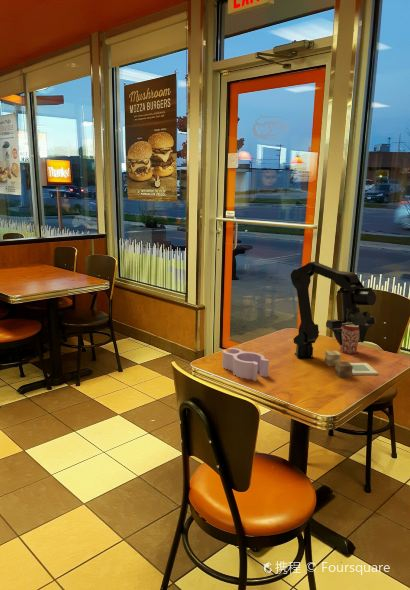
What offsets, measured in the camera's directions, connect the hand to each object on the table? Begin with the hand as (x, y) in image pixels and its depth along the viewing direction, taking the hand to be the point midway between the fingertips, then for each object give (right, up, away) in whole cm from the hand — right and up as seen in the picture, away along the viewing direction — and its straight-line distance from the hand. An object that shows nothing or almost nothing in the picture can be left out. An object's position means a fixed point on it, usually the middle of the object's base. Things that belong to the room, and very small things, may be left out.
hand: (351, 343), depth 179 cm
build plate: (+6, -12, +8) cm, 15 cm away
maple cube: (-4, -10, +14) cm, 18 cm away
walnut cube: (-3, -13, +1) cm, 13 cm away
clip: (-43, -12, +4) cm, 45 cm away
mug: (+7, -7, +32) cm, 33 cm away
